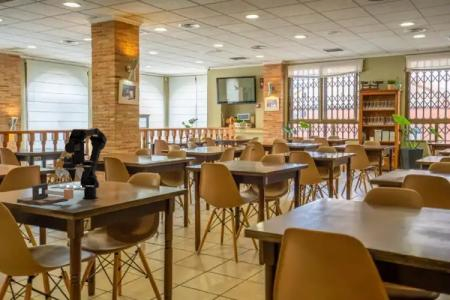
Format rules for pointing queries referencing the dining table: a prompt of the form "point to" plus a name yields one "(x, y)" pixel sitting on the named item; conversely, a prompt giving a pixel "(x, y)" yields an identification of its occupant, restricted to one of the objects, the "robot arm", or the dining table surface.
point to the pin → (62, 193)
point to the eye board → (42, 200)
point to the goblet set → (62, 171)
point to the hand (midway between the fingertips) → (79, 180)
